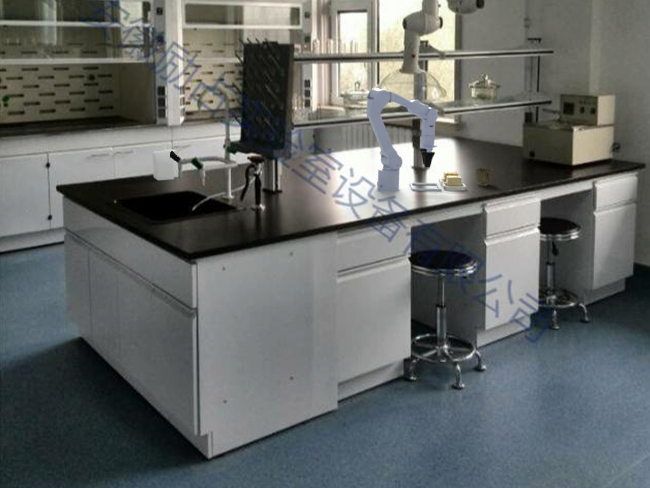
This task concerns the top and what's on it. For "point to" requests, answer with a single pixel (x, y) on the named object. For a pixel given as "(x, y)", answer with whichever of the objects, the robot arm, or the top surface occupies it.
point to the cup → (483, 175)
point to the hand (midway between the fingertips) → (426, 165)
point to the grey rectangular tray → (451, 186)
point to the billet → (453, 181)
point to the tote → (425, 189)
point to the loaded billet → (449, 175)
